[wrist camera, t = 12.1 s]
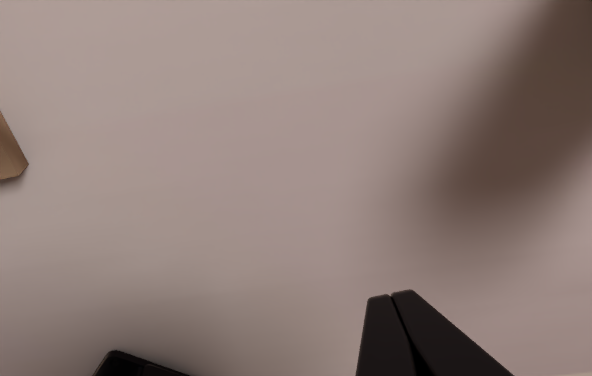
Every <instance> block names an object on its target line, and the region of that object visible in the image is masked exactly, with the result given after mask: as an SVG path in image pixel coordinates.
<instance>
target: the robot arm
mask: <svg viewBox="0 0 592 376" xmlns="http://www.w3.org/2000/svg"><path fill="white" fill-rule="evenodd" d="M93 376H189V375H186V374H183V373H181V372H178V371H175V370H172V369H169V368H167V367H164V366H161V365H158V364H155V363H152V362H150V361H147V360H144V359H141V358H138V357H135V356H133V355H130V354H127V353H124V352H121V351H117V350H115V351H110V352H109V353H108V354H107V355H106V357H105V358H104V359H103V361H102V362H101V364H100V365H99V367H98V368H97V370H96V371H95V373H94V374H93ZM356 376H514V375H513V374H512V373H510V372H509V371H508V370H507V369H506V368H504V367H503V366H502V365H501V364H500V363H499V362H497V361H496V360H495V359H494V358H493V357H491V356H490V355H489V354H488V353H487V352H486V351H484V350H483V349H482V348H481V347H480V346H478V345H477V344H476V343H475V342H474V341H473V340H471V339H470V338H469V337H468V336H467V335H465V334H464V333H463V332H462V331H461V330H460V329H458V328H457V327H456V326H455V325H454V324H452V323H451V322H450V321H449V320H448V319H446V318H445V317H444V316H443V315H442V314H441V313H439V312H438V311H437V310H436V309H435V308H433V307H432V306H431V305H430V304H429V303H428V302H426V301H425V300H424V299H423V298H422V297H420V296H419V295H418V294H417V293H416V292H415V291H413V290H404V291H399V292H394V293H392V294H391V296H389V295H388V294H384V295H380V296H375V297H370V298H369V299H368V301H367V307H366V313H365V320H364V326H363V332H362V338H361V345H360V351H359V357H358V363H357V370H356Z"/></svg>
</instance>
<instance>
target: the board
mask: <svg viewBox="0 0 592 376" xmlns="http://www.w3.org/2000/svg"><path fill="white" fill-rule="evenodd" d="M27 166H28V162H27V160H26V158H25V156H24V154H23V152H22V150H21V149H20V147H19V145H18V143H17V141H16V139H15V137H14V136H13V134H12V132H11V130H10V128H9V126H8V124H7V123H6V121H5V119H4V117H3V115H2V113H1V111H0V180H1V179H5V178H10V177H15V176H19V175H20V174H21V173H22V171H23V170H24V169H25V168H26V167H27Z"/></svg>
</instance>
